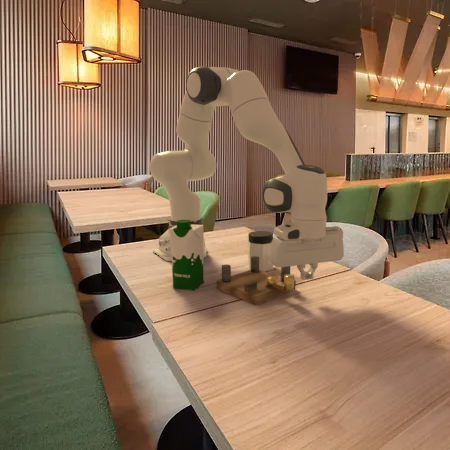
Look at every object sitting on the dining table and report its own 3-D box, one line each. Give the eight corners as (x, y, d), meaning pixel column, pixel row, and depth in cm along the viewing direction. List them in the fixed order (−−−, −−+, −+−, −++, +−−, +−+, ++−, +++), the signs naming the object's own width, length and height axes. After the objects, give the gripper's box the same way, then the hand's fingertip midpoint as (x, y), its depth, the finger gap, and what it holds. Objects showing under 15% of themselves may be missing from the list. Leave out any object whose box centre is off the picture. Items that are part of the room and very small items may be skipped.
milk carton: (168, 289, 112) (165, 221, 108) (182, 278, 121) (179, 216, 116) (196, 292, 109) (194, 223, 105) (208, 281, 118) (206, 217, 114)
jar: (257, 274, 124) (257, 237, 121) (242, 267, 131) (242, 233, 128) (278, 268, 129) (279, 233, 126) (263, 262, 135) (263, 229, 133)
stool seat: (216, 288, 112) (216, 265, 110) (254, 275, 122) (254, 254, 121) (256, 305, 100) (257, 279, 99) (295, 289, 111) (295, 266, 109)
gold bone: (264, 284, 106) (264, 270, 106) (271, 282, 108) (271, 268, 107) (289, 293, 100) (289, 278, 99) (296, 290, 102) (296, 275, 101)
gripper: (336, 223, 106) (334, 271, 109) (267, 228, 100) (267, 279, 103) (350, 227, 100) (347, 278, 103) (278, 234, 94) (277, 287, 97)
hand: (306, 278), depth 103 cm, fingers closed
